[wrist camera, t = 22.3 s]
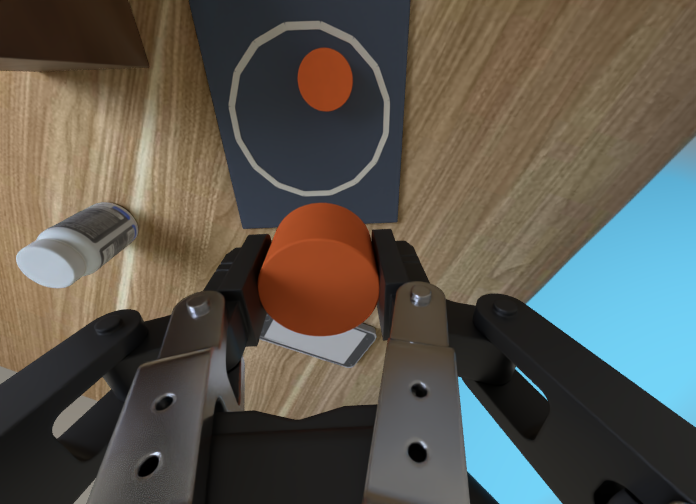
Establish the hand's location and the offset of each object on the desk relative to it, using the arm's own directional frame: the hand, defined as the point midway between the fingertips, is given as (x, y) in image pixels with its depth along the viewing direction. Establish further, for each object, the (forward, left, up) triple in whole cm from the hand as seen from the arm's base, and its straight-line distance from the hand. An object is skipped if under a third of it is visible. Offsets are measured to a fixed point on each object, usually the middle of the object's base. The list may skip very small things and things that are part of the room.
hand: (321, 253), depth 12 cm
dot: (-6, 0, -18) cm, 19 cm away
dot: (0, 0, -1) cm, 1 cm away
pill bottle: (+6, -23, -18) cm, 30 cm away
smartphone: (+22, -4, -18) cm, 29 cm away
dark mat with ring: (-3, -2, -18) cm, 18 cm away
